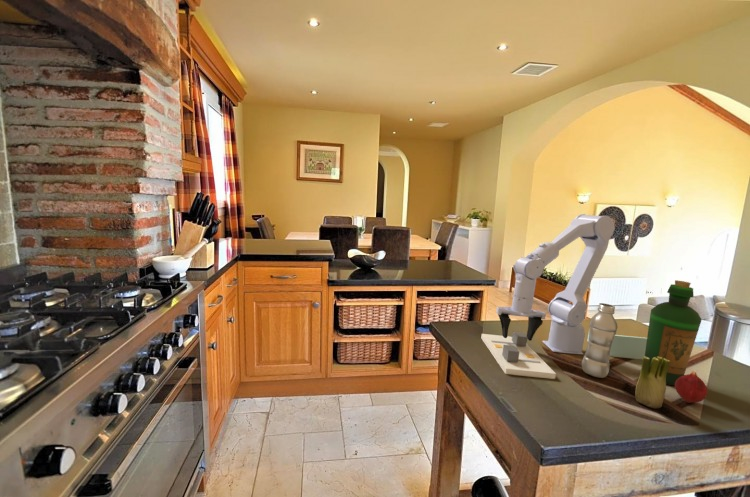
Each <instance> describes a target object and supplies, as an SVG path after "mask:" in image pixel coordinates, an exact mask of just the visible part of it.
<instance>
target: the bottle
mask: <svg viewBox="0 0 750 497" xmlns="http://www.w3.org/2000/svg"><path fill="white" fill-rule="evenodd" d="M691 284H692V283H691V282H689V281H684V280H674V284H672V283H671V284H670V285H669V288H668V290H667V292H666V293H667V294H668V301H663V302H661V303H658V304H657V305H655V306H654V307H652V308H651V309H650V315H649V322H648V328H647V329H648V330H647V337H646V338H647V343H646V350H645V357H648V358H649V359H650V361H649V367H650V364H651V361H652V358H654V357H655V358H657V356H658V357H662V358H663V359H667V360H670V364H669V367H668V370H667V374H666V385H669V386H675V382H676V380H677V379H678V378H679V377H681V376H684V375H686V374H685V373H686V370H687V368H688V365H689V361H690V358H691V355H692V350H693V348H694V345H695V342H696V339H697V336H698V332H699V329H700V326H701V323H702V318H701V315H700V313H699V312H698V311H696V310H695V309H694V308H693V307H691V306H690V305H689V303H690V301H691V300H690V299H691V298H692V299H693V298H694V288H693V287H691ZM688 305H689V306H688ZM663 359H662V360H663Z"/></svg>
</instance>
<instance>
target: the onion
mask: <svg viewBox="0 0 750 497" xmlns="http://www.w3.org/2000/svg"><path fill="white" fill-rule="evenodd" d="M697 374H698V373H697V372H696V371H694V370H693V371H691V372H690V373H688V374H684V376H681V377H679V378H678V379H677V380H676V382H675V385H674V388H675V391H676V393H677V394H678V396H679V397H680V398H681V399H682V400H683V401H684V402H685V403H689V404H690V403H698V402H702V401H704V399H705V398H706V397H707V395H708V387H707V386H706V383H705V381H703V380H702V379H701V378H700V377H699V376H698V375H697Z"/></svg>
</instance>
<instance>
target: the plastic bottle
mask: <svg viewBox="0 0 750 497" xmlns="http://www.w3.org/2000/svg"><path fill="white" fill-rule="evenodd" d="M615 309H616V307H615V305H612V304H608V303H599V304H598V308H597V311H598V312H597V313H595V314H594V315H593V316H592V317H591V318H590V320H589V327H588V328H589V329H588V333H589V341H587V347H586V350H585V353H584V354H583V358H582V360H581V368H582V371H583V372H584V373H585V374H586V375H590V376H592V377H593V378H601V379H603V378H606V377H607V376H608V374H609V371H610V357H611V356H610V350H611V346H612V342H613V339H614V336H615V335H617V331H618V328H619V327H618V323H617V320H616V319H615V317H614V314H615Z"/></svg>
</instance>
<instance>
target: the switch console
mask: <svg viewBox="0 0 750 497" xmlns="http://www.w3.org/2000/svg"><path fill="white" fill-rule="evenodd" d="M480 338H481V340H482V342H483V343H484V344H485V346H486V347H487V349H488V350H489V351H490V353H491V355H492V356H493V357H494V359H495V360H496V362H497V364H498V365H499V367H500V368H501V369H502V371H503V373H504V374H505V375H513V376H521V377H522V376H523V377H530V378H531V377H533V378H543V379H551V380H556V376H557V373H556V372H555V371H554V370H553V369H552V367H550V366H549V365H548V364H547V363H546V362H545V361H544V359H543V358H541V357H540V356H539V354H537V352H535V350H533V349H532V347H531V346H530V345H529V344H528V343H527V344H526V346H517V345H515V343H514V342H513V341H512V336H509V335H507V338H504V337H503V336H502V335H497V334H487V333H481V337H480ZM504 345H511V346H515V347H516V348H517V350H518V351H519V359H518V362H511V361H507V360H506V359H505V358H504V356H503V355H502V352H503V346H504Z"/></svg>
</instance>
